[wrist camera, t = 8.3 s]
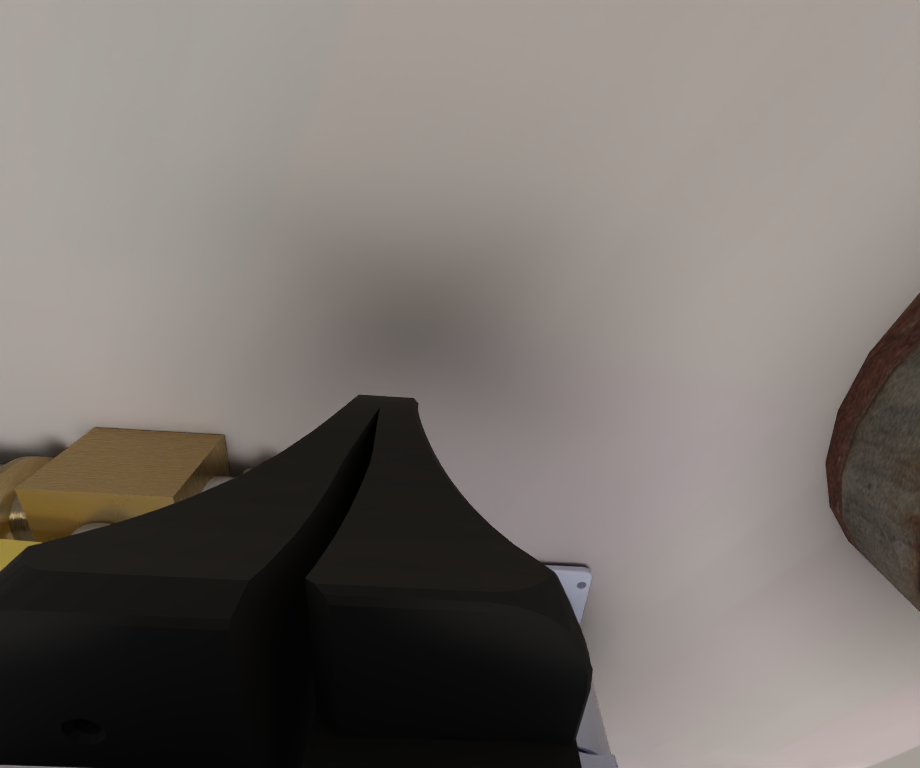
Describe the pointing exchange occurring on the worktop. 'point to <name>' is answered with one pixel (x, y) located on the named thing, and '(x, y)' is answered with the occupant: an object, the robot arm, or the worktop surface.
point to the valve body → (106, 480)
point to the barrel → (882, 457)
